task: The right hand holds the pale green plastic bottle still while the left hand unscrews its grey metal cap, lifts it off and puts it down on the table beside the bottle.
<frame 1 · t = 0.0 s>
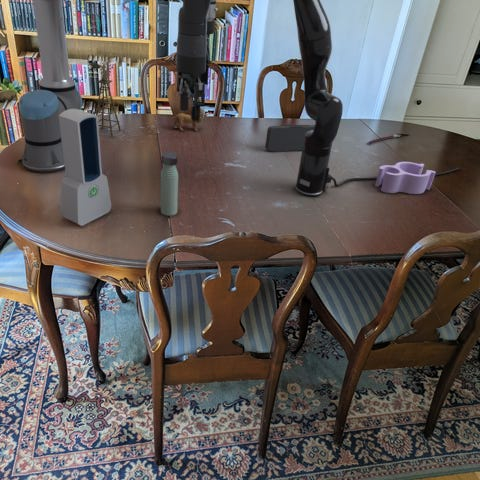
left hand: (199, 89, 153), 28 cm above the table, tool pointing down, fingers open, 13 cm apart
right hand: (189, 115, 127), 29 cm above the table, tool pointing down, fingers open, 8 cm apart
miniature windmill: (107, 132, 189), on the table
electronic device: (87, 215, 134), on the table
handheld gaming console: (291, 150, 191), on the table
cap: (169, 155, 131), point 18 cm above the table, screwed on, not yet turned
clip: (401, 187, 171), on the table
lion figurine: (188, 129, 201), on the table
sword: (389, 139, 213), on the table
bottle: (169, 211, 140), on the table
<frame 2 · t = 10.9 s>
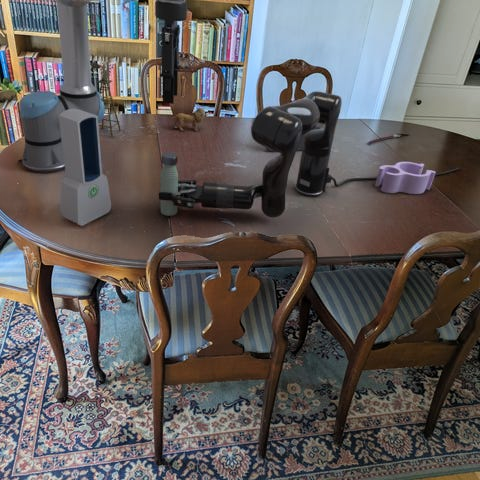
left hand: (170, 98, 122), 34 cm above the table, tool pointing down, fingers open, 7 cm apart
right hand: (160, 191, 136), 7 cm above the table, tool horizontal, fingers closed on bottle, 5 cm apart
bottle: (169, 211, 140), on the table, touching right hand
everything else where it was.
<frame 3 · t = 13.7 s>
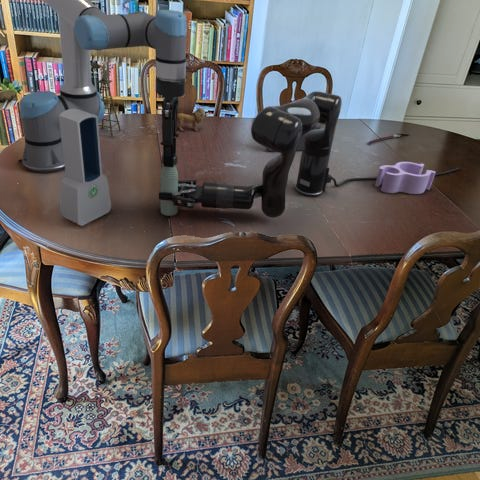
left hand: (169, 162, 132), 16 cm above the table, tool pointing down, fingers closed on cap, 4 cm apart
right hand: (160, 191, 136), 7 cm above the table, tool horizontal, fingers closed on bottle, 5 cm apart
cap: (169, 155, 131), point 18 cm above the table, screwed on, not yet turned, touching left hand
bottle: (169, 211, 140), on the table, touching right hand
everything else where it was.
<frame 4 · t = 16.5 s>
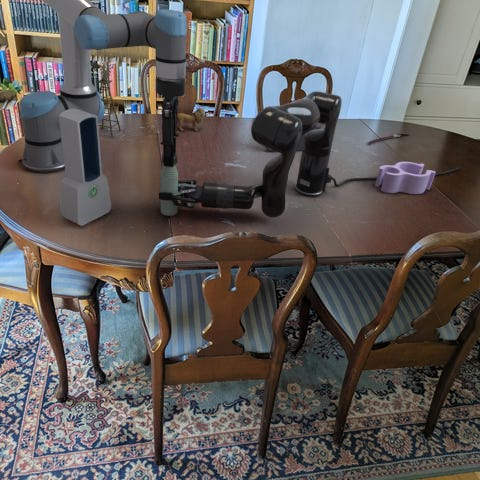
left hand: (169, 162, 132), 16 cm above the table, tool pointing down, fingers closed on cap, 4 cm apart
right hand: (160, 191, 136), 7 cm above the table, tool horizontal, fingers closed on bottle, 5 cm apart
cap: (169, 155, 130), point 18 cm above the table, turned 75° so far, risen 0.1 cm, still on its thread, touching left hand
bottle: (169, 211, 140), on the table, touching right hand
everything else where it was.
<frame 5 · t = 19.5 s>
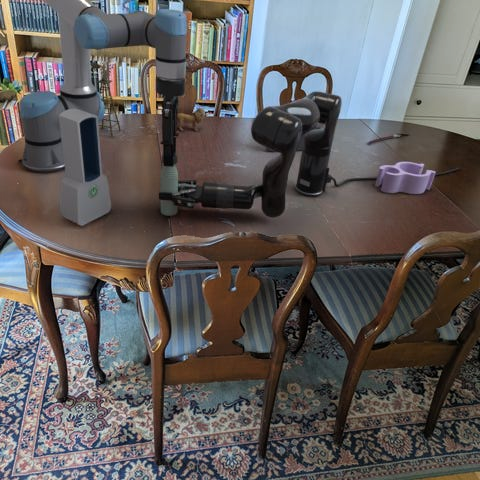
left hand: (169, 162, 132), 16 cm above the table, tool pointing down, fingers closed on cap, 4 cm apart
right hand: (160, 191, 136), 7 cm above the table, tool horizontal, fingers closed on bottle, 5 cm apart
cap: (169, 155, 130), point 18 cm above the table, turned 150° so far, risen 0.2 cm, still on its thread, touching left hand
bottle: (169, 211, 140), on the table, touching right hand
everything else where it was.
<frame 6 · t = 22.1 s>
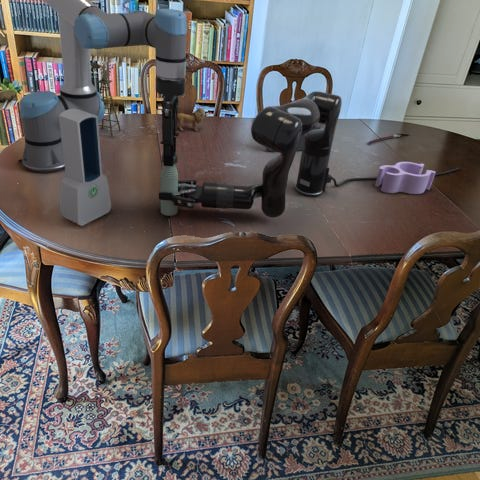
left hand: (169, 161, 131), 16 cm above the table, tool pointing down, fingers closed on cap, 4 cm apart
right hand: (160, 191, 136), 7 cm above the table, tool horizontal, fingers closed on bottle, 5 cm apart
cap: (169, 155, 130), point 18 cm above the table, turned 224° so far, risen 0.3 cm, still on its thread, touching left hand
bottle: (169, 211, 140), on the table, touching right hand
everything else where it was.
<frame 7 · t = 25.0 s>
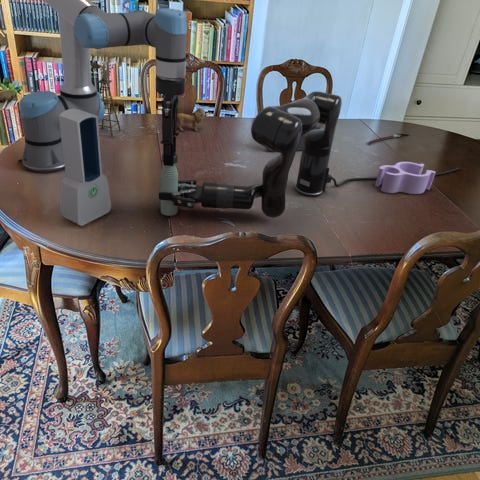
left hand: (169, 161, 131), 16 cm above the table, tool pointing down, fingers closed on cap, 4 cm apart
right hand: (160, 191, 136), 7 cm above the table, tool horizontal, fingers closed on bottle, 5 cm apart
cap: (169, 154, 130), point 18 cm above the table, turned 299° so far, risen 0.3 cm, still on its thread, touching left hand
bottle: (169, 211, 140), on the table, touching right hand
everything else where it was.
when the left hand's fingers open (1 cm above the table, at t = 32.5 s): cap stays where it is, point 2 cm above the table.
when the right hand's fingers open (7 cm above the table, at t = 33.8 s): bottle stays where it is, on the table.
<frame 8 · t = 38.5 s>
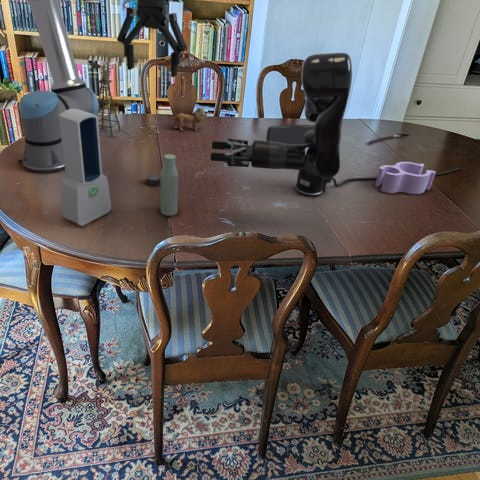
left hand: (152, 72, 136), 36 cm above the table, tool pointing down, fingers open, 13 cm apart
right hand: (211, 150, 130), 21 cm above the table, tool horizontal, fingers open, 8 cm apart
cap: (153, 177, 154), point 2 cm above the table, off its thread
bottle: (169, 211, 140), on the table
everything else where it was.
at the end: cap came off its thread; cap point 2.0 cm above the table; the left hand is holding nothing; the right hand is holding nothing; bottle tilted 0°; bottle moved 0.0 cm from its start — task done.
